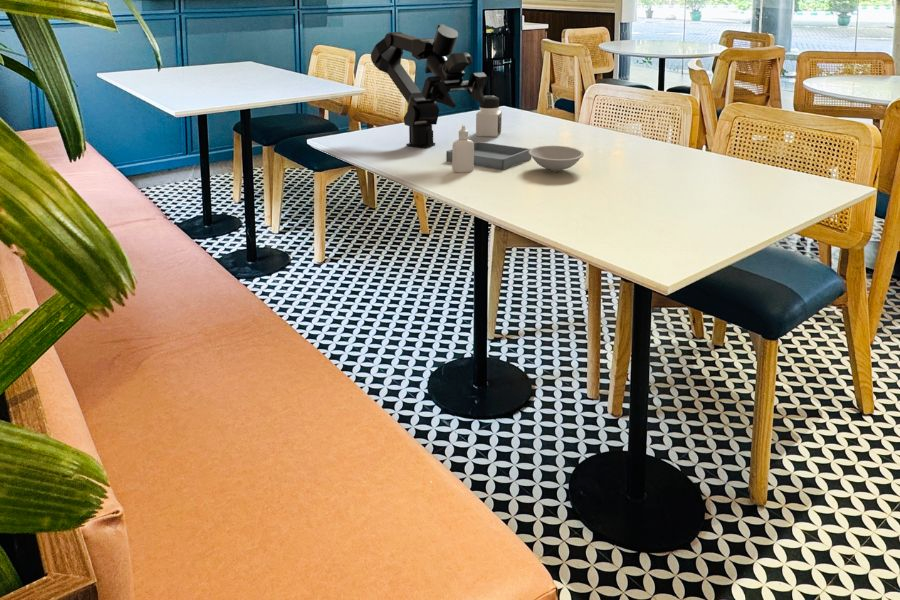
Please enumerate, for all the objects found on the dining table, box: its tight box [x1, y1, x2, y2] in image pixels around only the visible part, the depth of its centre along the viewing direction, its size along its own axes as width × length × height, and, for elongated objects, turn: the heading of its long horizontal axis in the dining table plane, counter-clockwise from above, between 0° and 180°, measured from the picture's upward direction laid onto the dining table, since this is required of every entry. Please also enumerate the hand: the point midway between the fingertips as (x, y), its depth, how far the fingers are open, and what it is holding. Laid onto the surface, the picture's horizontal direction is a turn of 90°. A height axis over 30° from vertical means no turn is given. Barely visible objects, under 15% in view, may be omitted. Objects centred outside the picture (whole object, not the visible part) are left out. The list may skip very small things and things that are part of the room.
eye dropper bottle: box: [451, 124, 474, 174], centre depth 216 cm, size 4×6×12 cm
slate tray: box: [445, 141, 533, 171], centre depth 230 cm, size 18×16×3 cm
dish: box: [529, 145, 585, 173], centre depth 218 cm, size 18×14×5 cm
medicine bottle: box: [475, 95, 503, 138], centre depth 261 cm, size 7×7×12 cm
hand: (469, 104), depth 222 cm, fingers open, 9 cm apart
